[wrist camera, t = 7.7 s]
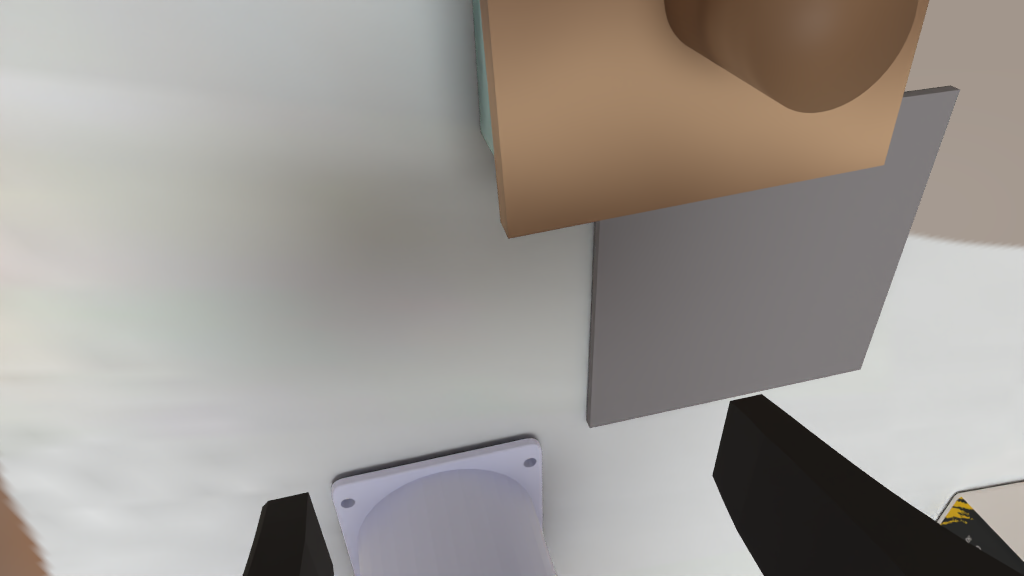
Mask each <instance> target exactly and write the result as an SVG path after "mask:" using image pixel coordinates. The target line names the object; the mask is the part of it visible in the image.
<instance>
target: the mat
mask: <svg viewBox="0 0 1024 576" xmlns="http://www.w3.org/2000/svg"><path fill="white" fill-rule="evenodd" d="M959 91H960V90H959V89H957V88H955V87H953V86H945V87H937V88H929V89H922V90H915V91H907V92H904V94H903V98H902V101H901V105H900V109H899V112H898V116H897V120H896V123H895V127H894V131H893V134H892V138H891V141H890V145H889V149H888V152H887V156H886V160H885V163H884V165H882V166H877V167H872V168H867V169H862V170H856V171H851V172H846V173H841V174H836V175H831V176H826V177H821V178H816V179H810V180H805V181H800V182H795V183H790V184H785V185H780V186H775V187H770V188H764V189H759V190H754V191H749V192H744V193H739V194H734V195H729V196H724V197H718V198H713V199H708V200H703V201H698V202H693V203H688V204H683V205H678V206H672V207H667V208H662V209H657V210H652V211H647V212H642V213H637V214H632V215H626V216H621V217H616V218H611V219H606V220H601V221H596V222H595V241H594V264H593V287H592V310H591V333H590V356H589V379H588V402H587V422H588V425H589V427H590V428H592V427H597V426H602V425H606V424H611V423H615V422H620V421H625V420H629V419H634V418H639V417H643V416H648V415H652V414H657V413H662V412H666V411H671V410H675V409H680V408H685V407H689V406H694V405H698V404H703V403H708V402H712V401H717V400H722V399H726V398H731V397H735V396H740V395H745V394H749V393H754V392H758V391H763V390H768V389H772V388H777V387H781V386H786V385H791V384H795V383H800V382H805V381H809V380H814V379H818V378H823V377H828V376H832V375H837V374H841V373H846V372H851V371H855V370H860V369H861V366H862V364H863V361H864V358H865V355H866V352H867V349H868V347H869V344H870V341H871V338H872V335H873V333H874V330H875V327H876V324H877V321H878V319H879V316H880V313H881V310H882V307H883V305H884V302H885V299H886V296H887V293H888V291H889V288H890V285H891V282H892V279H893V276H894V274H895V271H896V268H897V265H898V262H899V260H900V257H901V254H902V251H903V248H904V246H905V243H906V240H907V237H908V234H909V232H910V229H911V226H912V223H913V220H914V217H915V215H916V212H917V209H918V206H919V203H920V201H921V198H922V195H923V192H924V189H925V187H926V184H927V181H928V178H929V175H930V173H931V170H932V167H933V164H934V161H935V158H936V156H937V153H938V150H939V147H940V144H941V142H942V139H943V136H944V133H945V130H946V128H947V125H948V122H949V119H950V116H951V113H952V111H953V108H954V105H955V102H956V100H957V97H958V94H959Z"/></svg>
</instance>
